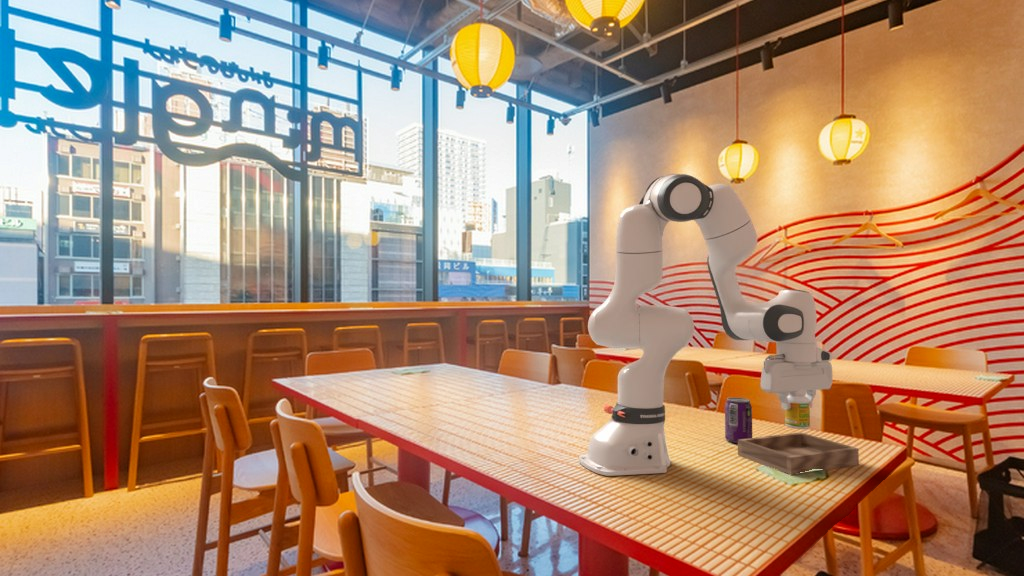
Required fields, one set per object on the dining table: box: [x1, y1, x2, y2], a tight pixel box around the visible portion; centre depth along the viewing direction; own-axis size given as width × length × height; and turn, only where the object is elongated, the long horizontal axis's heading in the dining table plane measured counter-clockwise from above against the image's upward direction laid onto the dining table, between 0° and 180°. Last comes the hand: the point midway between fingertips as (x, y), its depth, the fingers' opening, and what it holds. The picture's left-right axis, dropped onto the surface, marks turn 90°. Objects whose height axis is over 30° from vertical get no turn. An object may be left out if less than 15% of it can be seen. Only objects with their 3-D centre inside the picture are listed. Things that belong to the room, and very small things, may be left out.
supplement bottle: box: [784, 389, 811, 430], centre depth 125 cm, size 5×5×10 cm
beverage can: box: [724, 397, 753, 445], centre depth 142 cm, size 7×7×12 cm
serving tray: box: [737, 431, 860, 476], centre depth 125 cm, size 22×16×4 cm
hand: (796, 408), depth 125 cm, fingers closed on supplement bottle, 5 cm apart
